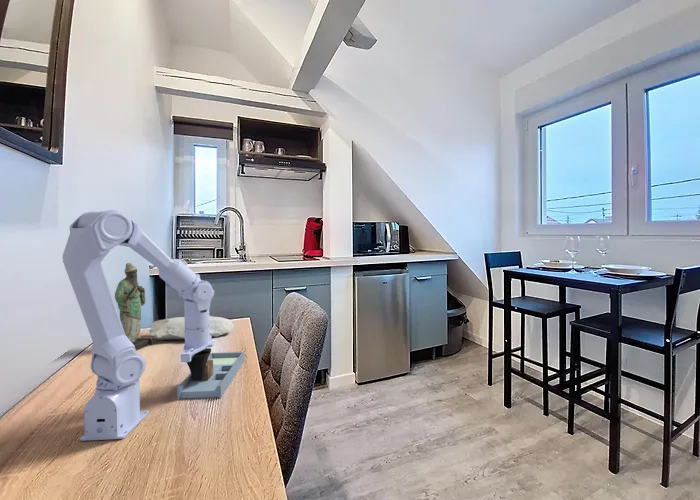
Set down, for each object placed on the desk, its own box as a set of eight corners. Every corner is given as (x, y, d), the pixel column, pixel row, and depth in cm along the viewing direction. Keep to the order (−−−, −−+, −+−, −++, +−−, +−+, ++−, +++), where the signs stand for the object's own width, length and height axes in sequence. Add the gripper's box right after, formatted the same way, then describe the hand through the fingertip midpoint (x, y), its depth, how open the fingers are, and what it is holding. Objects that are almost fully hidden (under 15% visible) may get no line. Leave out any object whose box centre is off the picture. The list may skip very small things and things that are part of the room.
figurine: (129, 353, 107) (127, 264, 106) (103, 351, 108) (101, 263, 107) (153, 343, 117) (151, 262, 116) (129, 341, 118) (127, 261, 117)
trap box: (221, 398, 77) (220, 386, 77) (177, 399, 76) (176, 387, 76) (244, 361, 100) (244, 351, 100) (210, 362, 99) (210, 352, 99)
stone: (153, 311, 130) (231, 307, 143) (152, 330, 130) (230, 324, 144) (146, 328, 111) (237, 322, 124) (146, 350, 111) (236, 341, 125)
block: (207, 380, 83) (207, 365, 83) (192, 381, 82) (191, 365, 82) (213, 374, 87) (213, 359, 87) (198, 374, 86) (198, 360, 86)
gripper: (202, 334, 74) (203, 392, 74) (222, 319, 88) (222, 367, 89) (171, 335, 73) (172, 393, 74) (196, 319, 88) (196, 368, 88)
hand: (197, 379), depth 81 cm, fingers closed
